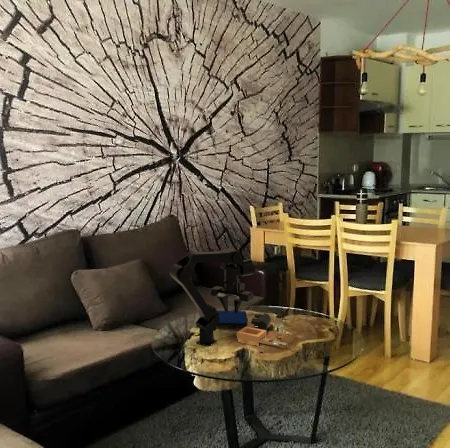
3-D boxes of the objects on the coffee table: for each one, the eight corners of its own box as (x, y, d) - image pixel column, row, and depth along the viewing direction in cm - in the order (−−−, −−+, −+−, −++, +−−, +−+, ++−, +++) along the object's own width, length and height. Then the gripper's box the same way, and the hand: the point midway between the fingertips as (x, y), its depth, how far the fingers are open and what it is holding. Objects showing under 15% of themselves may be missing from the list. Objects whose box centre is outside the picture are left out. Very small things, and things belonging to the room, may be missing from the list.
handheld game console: (248, 320, 264) (248, 301, 262) (246, 330, 251) (246, 311, 249) (215, 319, 266) (215, 300, 264) (211, 329, 252) (211, 310, 251)
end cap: (266, 335, 245) (267, 320, 244) (251, 333, 247) (251, 319, 246) (270, 327, 255) (271, 313, 253) (255, 326, 256) (255, 311, 255)
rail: (276, 356, 223) (277, 350, 223) (227, 345, 234) (227, 339, 234) (294, 341, 239) (294, 335, 238) (247, 331, 250) (247, 325, 250)
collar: (258, 347, 233) (258, 336, 232) (237, 342, 238) (237, 332, 237) (266, 340, 240) (266, 330, 239) (245, 336, 245) (245, 326, 244)
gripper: (259, 276, 241) (259, 310, 244) (222, 270, 250) (222, 303, 253) (247, 282, 232) (247, 318, 234) (209, 276, 241) (209, 311, 244)
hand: (231, 312), depth 242 cm, fingers open, 4 cm apart
